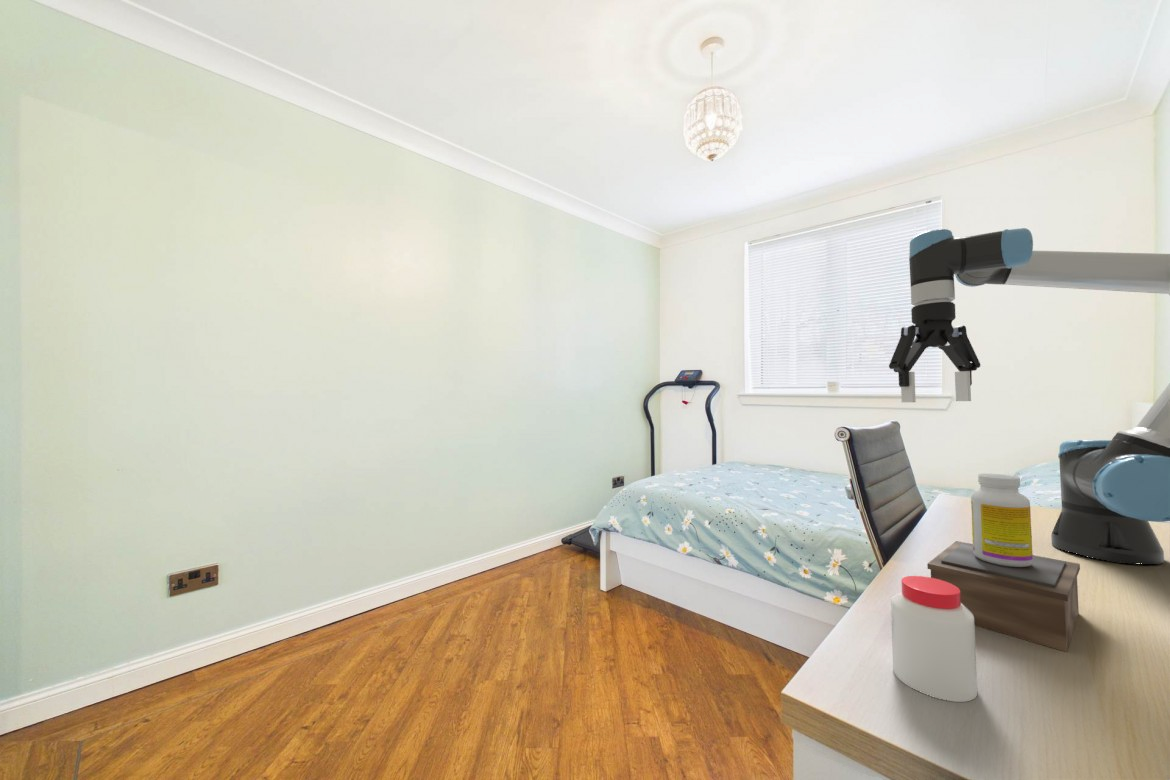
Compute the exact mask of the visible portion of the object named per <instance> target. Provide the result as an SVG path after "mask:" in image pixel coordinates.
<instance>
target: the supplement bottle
mask: <svg viewBox="0 0 1170 780" xmlns="http://www.w3.org/2000/svg"><path fill="white" fill-rule="evenodd" d="M977 477H978V480H977V481H978V484H979V485H980V489H976V490H974V491H973V492H972V493H971V496H970V505H971V507H970V509H971V532H972V533H971V534H972V544H973V553H974V555H975V556H976V557H977V558H979V559H981V560H983V561H986V562H989V563H992V564H997V565H1002V566H1009V567H1028V566H1030V565H1031V564H1032V563H1033V538H1032V518H1031V502H1030V499H1029V498H1028V497H1027V496H1025V495H1024V494H1022V493H1020V492H1019V488H1020V486H1021V478H1020V477H1019V476H1016V475H1015V476H1014V475H1011V474H1010V475H1009V474H999V473H979V474H978V475H977Z"/></svg>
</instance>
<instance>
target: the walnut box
mask: <svg viewBox="0 0 1170 780" xmlns="http://www.w3.org/2000/svg"><path fill="white" fill-rule="evenodd" d="M927 570H930V578H935V579H939V580H942V581H945V582H948V583H951V584H953V585H955V586H956V587H958V588H959V589H960V592H961V603H962V604H963V605H964V606H965V607H966V608H968V609H969V610H970V611H971V613H972V614H973V616H974V618H975V627H980V628H983V629H987V630H991V631H994V632H997V633H1000V634H1004V635H1007V636H1010V637H1015V638H1018V639H1020V640H1024V641H1028V642H1031V643H1035V644H1039V645H1042V646H1044V647H1048V648H1051V649H1055V650H1059V651H1061V652H1062V651H1063V652H1065V653H1067V652H1068V649H1069V647H1070V643H1071V639H1072V637H1073V633H1074V630H1075V628H1076V627H1075V626H1076V623H1077V621H1078V617H1079V612H1080V611H1079V591H1078V588H1079V586H1078V575H1079V572H1080V570H1081V565H1080V563H1077V562H1073V561H1066V560H1061V559H1055V558H1050V557H1045V556H1040V555H1033V563H1032V564H1031V565H1030V566H1028V567H1009V566H1002V565H997V564H992V563H989V562H986V561H983V560H981V559H979V558H977V557H976V556H975V555H974V553H973V543H969V542H963V541H960V540H959V541H958V540H955V541H954V542H953V543H952V544H950V545H949V546H948V547H946V548H945V549H944V550H942V551H941V552H940V553H939V554H937V556H935V557H934V558H932V559H931V560H930V561H929V562H928V563H927Z"/></svg>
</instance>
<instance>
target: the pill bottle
mask: <svg viewBox="0 0 1170 780" xmlns="http://www.w3.org/2000/svg"><path fill="white" fill-rule="evenodd" d="M900 582H901V590H900V591H898V592H897V593H895V594H893V596H891V598H890V610H891V611H890V614H891V615H890V616H891V642H892V643H891V644H892V645H891V646H892V649H891V650H892V671H893V672H894V675H895V676H896V678H897V679H899V680H900V681H901V682H902V683H903V684H904V685H905V686H907V687H909V688H911V689H912V688H913V689H912V690H914V689H916V690H918V691H921V692H922V693H921V694H923V693H925V694H928V695H931V696H934V697H936V698H935V699H937V698H939V700H941V699H943V700H942V701H946V700H947V701H946V702H953V703H966V702H970V701H973V700H974V699H976V698H977V695H978V672H977V670H978V669H977V650H976V649H977V648H976V647H977V645H976V643H977V642H976V625H975V618H974V616H973V614H972V613H971V611H970V610H969V609H968V608H966V607H965V606H964V605H963V604H962V603H961V592H960V589H959V588H958V587H956V586H955V585H953V584H951V583H948V582H945V581H942V580H939V579H935V578H931V576H930V577H928V576H921V575H910V576H909V575H908V576H904V577H902V578H901V581H900ZM916 690H915V691H916ZM918 691H917V692H918ZM925 694H924V695H925ZM928 695H927V696H928ZM931 696H930V697H931ZM934 697H933V698H934Z"/></svg>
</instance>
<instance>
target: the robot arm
mask: <svg viewBox="0 0 1170 780" xmlns="http://www.w3.org/2000/svg"><path fill="white" fill-rule="evenodd" d="M1033 248H1034V240H1033V234H1032V232H1031V231H1030V229H1028V228H1023V227H1022V228H1012V229H1003V230H999V231H994V232H988V233H987V232H986V233H981V234H975V235H969V236H963V237H954V235H953V232H952V230H949V229H948V228H947V229H946V228H945V229H943V228H942V229H932V230H928V231H923V232H921V233H919V234H917V235H915V236H914V237H913V238H911V240H910V241H909V255H908V256H909V259H908V261H909V262H908V263H909V264H908V265H909V278H910V281H909V282H910V302H911V303H910V304H911V305H912V306H913V307H912V308H911V311H910V312H911V313H910V314H911V323H912V325H908V326H907V325H906V326H902V327H901V329H900V337H899V339H898V342H897V345H896V348H895V350H894V352H893V355H892V358H891V360H890V362H889V364H888V369H890V370H893V372H894V373H898V385H899V387H900V393H901V396H900V397H901V403H916V400H917V398H916V379H915V377H916V376H915V371H911V370H912V369H913V367H914V366H915V364H916V363H917V361H918V360H919V359H920V358H921V357H922V354H923V353H924V351H925V350H926V349H928V348H938V349H940V350H942V352H943V353H945V355H946V356H947V358H948V359H949V360H950V361H951V363H952V364H953V365H954V366H955V368H956V369H957V370H958V371H954V383H955V384H954V385H955V388H954V389H955V401H956V402H972V394H971V391H972V390H971V386H972V384H973V382H972V381H973V378H972V371H973V372H974V371H977V370H978V368H980V367H981V363H980V360H979V358H978V356H977V354H976V351H975V349H974V348H973V346H972V343H971V341H970V339H969V337H968V334H967V333H968V332H967V327H966V326H965V325H958V326H953V324H952V323H953V321H954V320H955V319H956V303H954V302H953V301H954V300H956V294H955V292H956V289H955V288H956V287H955V278H956V280H957V282H958V283H959V284H961V285H962V286H966V287H971V288H972V287H974V288H975V287H980V286H983V285H1004V286H1007V285H1008V286H1023V287H1024V286H1025V287H1038V288H1039V287H1041V288H1042V287H1044V288H1054V289H1055V288H1057V289H1060V288H1061V289H1072V290H1073V289H1074V290H1075V289H1077V290H1093V291H1095V290H1096V291H1110V292H1111V291H1112V292H1125V293H1126V292H1128V293H1145V294H1160V295H1161V294H1162V295H1163V294H1164V295H1169V296H1170V253H1147V252H1143V253H1142V252H1109V251H1108V252H1107V251H1106V252H1104V251H1103V252H1102V251H1101V252H1100V251H1073V250H1072V251H1069V250H1067V251H1063V250H1034V249H1033ZM954 277H955V278H954ZM1058 449H1059V453H1058V454H1057V455H1058V456H1057V457H1058V460H1059V476H1060V481H1059V483H1060V499H1061V510H1060V511H1061V512H1060V514H1059V516H1058V518H1057V520H1056V521H1055V524H1054V528H1053V529H1052V532H1051V537H1050V538H1051V545H1052V547H1054V548H1056V549H1058V550H1060V549H1061V550H1060V551H1063V550H1065V551H1064V552H1066V551H1069V552H1073V553H1077V554H1080V555H1084V556H1088V557H1087V558H1089V557H1093V558H1096V559H1095V560H1099V559H1102V560H1101V561H1104V560H1107V561H1106V562H1110V561H1111V562H1112V563H1119V564H1125V563H1140V564H1141V563H1142V564H1158V565H1161V564H1160V563H1162V564H1164V563H1165V552H1164V549H1163V547H1162V545H1161V543H1160V541H1159V540H1158V537H1157V535H1156V533H1155V532H1154V529H1153V527H1152V526H1151V524H1150V522H1156V523H1158V522H1161V523H1163V522H1170V382H1169V383H1168V385H1167V386H1166V387H1165V389H1164V390H1163V391H1162V393H1161V394H1160V395H1159V396H1158V398H1157V399H1156V400H1155V402H1154V403H1153V404H1152V405H1151V407H1150V408H1149V409H1148V411H1146V413H1145V415H1144V416H1143V417H1142V419H1141V420H1140V421H1139V422H1138V424H1137V425H1136V426H1135V427H1133V428H1130V429H1124V430H1118V431H1117V432H1116V433H1115V434H1114V436H1113V437H1112V439H1111V440H1110V439H1104V440H1103V439H1080V440H1079V439H1078V440H1077V439H1076V440H1072V439H1071V440H1065V441H1063V442H1061V443H1060V445H1059V448H1058ZM1069 552H1068V553H1069ZM1080 555H1079V556H1080ZM1084 556H1083V557H1084ZM1093 558H1092V559H1093ZM1111 562H1110V563H1111ZM1163 562H1164V563H1163Z"/></svg>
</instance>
